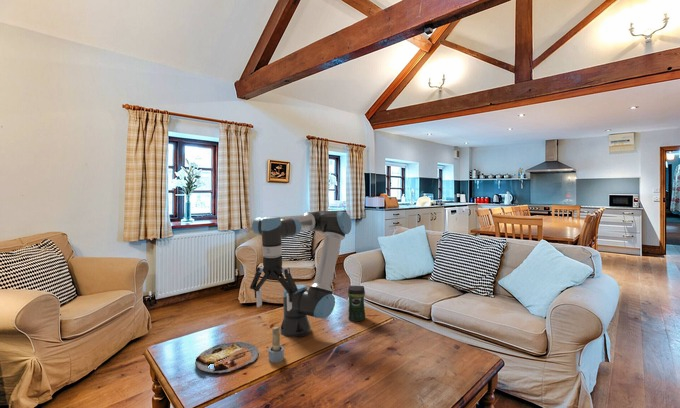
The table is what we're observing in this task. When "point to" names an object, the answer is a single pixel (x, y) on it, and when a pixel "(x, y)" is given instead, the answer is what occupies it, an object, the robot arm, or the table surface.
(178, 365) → the table surface
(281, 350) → the cup
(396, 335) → the table surface
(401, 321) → the table surface
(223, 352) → the food plate
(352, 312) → the coffee jar
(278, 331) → the pestle
